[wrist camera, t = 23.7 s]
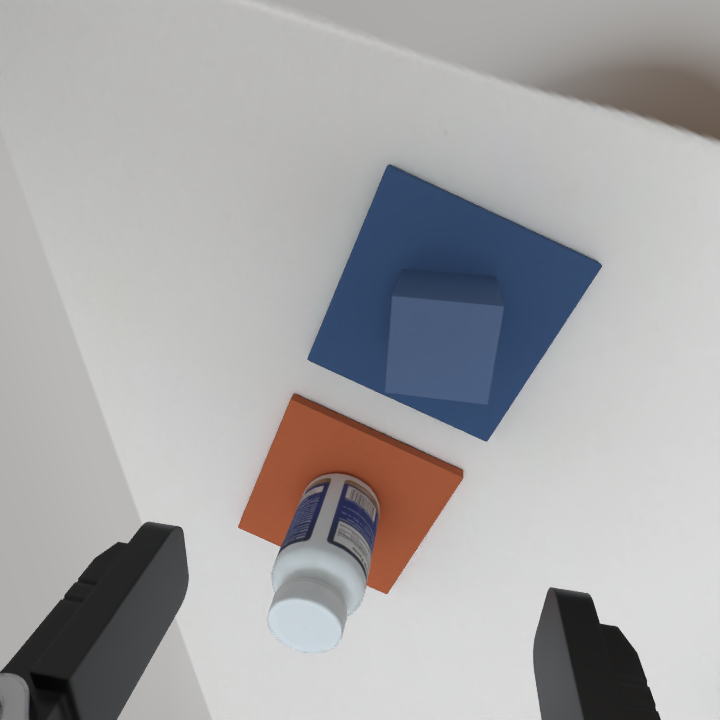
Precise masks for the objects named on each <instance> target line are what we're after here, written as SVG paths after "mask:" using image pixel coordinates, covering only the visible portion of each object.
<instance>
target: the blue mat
mask: <svg viewBox="0 0 720 720" xmlns="http://www.w3.org/2000/svg"><path fill="white" fill-rule="evenodd" d="M601 267H602V265H601V264H600V263H599V262H598V261H596V260H594V259H591V258H589V257H587V256H585V255H583V254H581V253H579V252H576V251H574V250H572V249H570V248H568V247H566V246H564V245H561V244H559V243H557V242H555V241H553V240H551V239H548V238H546V237H544V236H542V235H540V234H538V233H536V232H533V231H531V230H529V229H527V228H525V227H523V226H521V225H518V224H516V223H514V222H512V221H510V220H508V219H506V218H503V217H501V216H499V215H497V214H495V213H493V212H491V211H488V210H486V209H484V208H482V207H480V206H478V205H475V204H473V203H471V202H469V201H467V200H465V199H463V198H460V197H458V196H456V195H454V194H452V193H450V192H448V191H445V190H443V189H441V188H439V187H437V186H435V185H433V184H430V183H428V182H426V181H424V180H422V179H420V178H418V177H415V176H413V175H411V174H409V173H407V172H405V171H402V170H400V169H398V168H396V167H394V166H392V165H388V166H387V168H386V170H385V173H384V175H383V177H382V180H381V182H380V185H379V187H378V189H377V192H376V194H375V197H374V199H373V202H372V204H371V206H370V209H369V211H368V214H367V216H366V219H365V221H364V223H363V226H362V228H361V231H360V233H359V235H358V238H357V240H356V243H355V245H354V248H353V250H352V252H351V255H350V257H349V260H348V262H347V264H346V267H345V269H344V272H343V274H342V277H341V279H340V281H339V284H338V286H337V289H336V291H335V294H334V296H333V298H332V301H331V303H330V306H329V308H328V310H327V313H326V315H325V318H324V320H323V323H322V325H321V327H320V330H319V332H318V335H317V337H316V339H315V342H314V344H313V347H312V349H311V352H310V354H309V356H308V360H309V361H311V362H313V363H315V364H317V365H320V366H322V367H324V368H326V369H328V370H331V371H333V372H335V373H337V374H339V375H341V376H344V377H346V378H348V379H350V380H352V381H355V382H357V383H359V384H361V385H363V386H366V387H368V388H370V389H372V390H374V391H376V392H379V393H381V394H383V395H385V396H387V397H390V398H392V399H394V400H396V401H398V402H401V403H403V404H405V405H407V406H409V407H412V408H414V409H416V410H418V411H420V412H422V413H425V414H427V415H429V416H431V417H433V418H436V419H438V420H440V421H442V422H444V423H447V424H449V425H451V426H453V427H455V428H457V429H460V430H462V431H464V432H466V433H468V434H471V435H473V436H475V437H477V438H479V439H482V440H484V441H486V442H487V441H488V439H489V438H490V436H491V435H492V433H493V432H494V430H495V429H496V427H497V426H498V424H499V423H500V421H501V420H502V418H503V416H504V415H505V413H506V412H507V410H508V409H509V407H510V406H511V404H512V403H513V401H514V400H515V398H516V397H517V395H518V394H519V392H520V391H521V389H522V387H523V386H524V384H525V383H526V381H527V380H528V378H529V377H530V375H531V374H532V372H533V371H534V369H535V368H536V366H537V365H538V363H539V362H540V360H541V358H542V357H543V355H544V354H545V352H546V351H547V349H548V348H549V346H550V345H551V343H552V342H553V340H554V339H555V337H556V336H557V334H558V333H559V331H560V330H561V328H562V326H563V325H564V323H565V322H566V320H567V319H568V317H569V316H570V314H571V313H572V311H573V310H574V308H575V307H576V305H577V304H578V302H579V301H580V299H581V297H582V296H583V294H584V293H585V291H586V290H587V288H588V287H589V285H590V284H591V282H592V281H593V279H594V278H595V276H596V275H597V273H598V272H599V270H600V268H601ZM402 269H408V270H420V271H431V272H442V273H454V274H465V275H477V276H488V277H496V279H497V282H498V286H499V290H500V293H501V297H502V301H503V304H504V312H503V318H502V324H501V329H500V335H499V341H498V347H497V353H496V359H495V364H494V370H493V376H492V382H491V388H490V394H489V400H488V404H487V405H485V404H476V403H468V402H460V401H451V400H443V399H435V398H427V397H418V396H410V395H402V394H393V393H386V392H385V381H386V368H387V355H388V341H389V328H390V315H391V301H392V295H393V292H394V290H395V287H396V284H397V282H398V279H399V276H400V274H401V271H402Z"/></svg>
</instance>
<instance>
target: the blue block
mask: <svg viewBox="0 0 720 720" xmlns="http://www.w3.org/2000/svg"><path fill="white" fill-rule="evenodd" d="M503 312H504V304H503V301H502V297H501V293H500V290H499V286H498V282H497V279H496V277H488V276H477V275H465V274H454V273H442V272H431V271H420V270H408V269H402V271H401V274H400V276H399V279H398V282H397V284H396V287H395V290H394V292H393V295H392V301H391V315H390V328H389V341H388V355H387V368H386V381H385V392H386V393H393V394H402V395H410V396H418V397H427V398H435V399H443V400H451V401H460V402H468V403H476V404H485V405H487V404H488V400H489V394H490V388H491V382H492V376H493V370H494V364H495V359H496V353H497V347H498V341H499V335H500V329H501V324H502V318H503Z"/></svg>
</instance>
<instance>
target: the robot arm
mask: <svg viewBox="0 0 720 720" xmlns="http://www.w3.org/2000/svg"><path fill="white" fill-rule="evenodd" d="M188 580H189V574H188V566H187V557H186V549H185V541H184V533H183V530H182V528H181V527H179V526H173V525H167V524H160V523H154V522H146V523H144V524H143V525H142V526H141V528H140V529H139V530H138V531H137V533H136V534H135V535H134V536H133V538H132V539H131V541H130V542H129V543H128V544H127V543H121V542H117V543H116V544H115V545H113V546H112V547H110V548H109V549H107V550H106V551H105V552H103V553H102V554H100V555H99V556H97V557H96V558H95V559H94V560H93V561H92V563H91V564H90V565H89V566H88V568H87V569H86V570H85V571H84V572H83V574H82V575H81V576H80V577H79V578H78V582H77V583H76V582H75V583H74V584H73V586H72V587H71V588H70V589H69V590H68V592H67V593H66V594H65V597H64V599H63V600H60V601H59V603H58V604H57V605H56V606H55V607H54V609H53V610H52V611H51V612H50V613H49V615H48V616H47V617H46V618H45V619H44V621H43V622H42V623H41V624H40V625H39V627H38V628H37V629H36V630H35V632H34V633H33V634H32V635H31V636H30V638H29V639H28V640H27V641H26V642H25V644H24V645H23V646H22V647H21V649H20V650H19V651H18V652H17V653H16V655H15V656H14V657H13V658H12V659H11V661H10V662H9V663H8V664H7V665H6V666H5V668H4V669H3V670H2V671H1V672H0V720H117V718H118V716H119V715H120V713H121V711H122V709H123V708H124V706H125V704H126V702H127V700H128V699H129V697H130V695H131V693H132V691H133V690H134V688H135V686H136V685H137V683H138V681H139V679H140V677H141V676H142V674H143V672H144V670H145V669H146V667H147V665H148V663H149V662H150V660H151V658H152V656H153V654H154V653H155V651H156V649H157V647H158V646H159V644H160V642H161V640H162V638H163V636H164V635H165V633H166V631H167V630H168V628H169V626H170V624H171V622H172V621H173V619H174V617H175V615H176V614H177V612H178V610H179V608H180V607H181V605H182V603H183V600H184V598H185V595H186V591H187V587H188ZM533 663H534V673H535V679H536V686H537V692H538V699H539V705H540V712H541V718H542V720H661V719H660V716H659V713H658V711H656V709H655V706H656V705H655V702H654V699H653V696H652V694H651V691H650V688H649V687H648V686H647V679H646V677H645V674H644V671H643V668H642V665H641V663H640V660H639V657H638V654H637V652H636V651H635V649H634V648H633V647H632V645H631V644H630V643H629V641H628V640H627V639H626V637H625V636H624V635H623V633H622V632H621V631H620V629H619V628H618V627H616V626H610V625H605V624H600V623H599V619H598V616H597V613H596V609H595V606H594V603H593V600H592V598H591V596H590V595H589V594H588V593H583V592H576V591H570V590H564V589H558V588H549V590H548V592H547V595H546V599H545V602H544V606H543V610H542V613H541V617H540V620H539V624H538V627H537V631H536V635H535V639H534V648H533Z"/></svg>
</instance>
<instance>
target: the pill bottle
mask: <svg viewBox="0 0 720 720" xmlns="http://www.w3.org/2000/svg"><path fill="white" fill-rule="evenodd" d="M379 514H380V507H379V502H378V499H377V497H376V495H375V493H374V492H373V491H372V489H371V488H370V487H369V486H368V485H366V484H365V483H364V482H362V481H361V480H359V479H358V478H355V477H353V476H349V475H345V474H338V473H335V474H327V475H323V476H320V477H318V478H316V479H315V480H313V481H312V482H311V483H310V484H309V485H308V486H307V488H306V489H305V491H304V493H303V495H302V498H301V500H300V503H299V505H298V507H297V510H296V512H295V515H294V517H293V519H292V522H291V524H290V527H289V529H288V531H287V534H286V536H285V539H284V541H283V543H282V546H281V548H280V551H279V553H278V556H277V558H276V560H275V563H274V566H273V570H272V585H273V589H274V592H275V595H274V598H273V601H272V604H271V607H270V609H269V613H268V625H269V628H270V630H271V632H272V633H273V635H274V636H275V637H276V638H277V639H278V640H279V641H280V642H281V643H283V644H284V645H286V646H287V647H289V648H291V649H294V650H297V651H300V652H304V653H322V652H326V651H329V650H331V649H333V648H334V647H335V646H336V645H337V644H338V643H339V642H340V640H341V638H342V634H343V630H344V626H345V623H346V619H347V616H349V615H351V614H352V613H353V612H354V611H355V610H356V609H357V608H358V607H359V605H360V604H361V602H362V600H363V597H364V593H365V590H366V584H367V580H368V574H369V569H370V564H371V558H372V553H373V548H374V542H375V537H376V532H377V527H378V521H379Z"/></svg>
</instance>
